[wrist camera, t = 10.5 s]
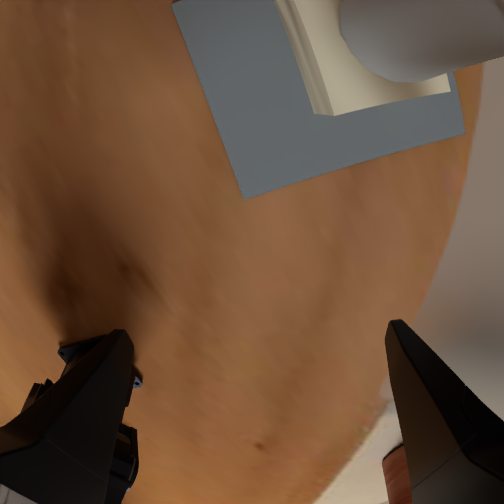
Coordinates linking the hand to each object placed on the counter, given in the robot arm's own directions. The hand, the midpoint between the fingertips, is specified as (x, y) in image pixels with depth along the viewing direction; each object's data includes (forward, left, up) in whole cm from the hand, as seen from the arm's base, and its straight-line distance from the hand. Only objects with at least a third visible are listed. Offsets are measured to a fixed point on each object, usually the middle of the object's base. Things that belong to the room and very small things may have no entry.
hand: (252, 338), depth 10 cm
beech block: (+11, +9, -12) cm, 18 cm away
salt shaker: (+11, +9, -8) cm, 16 cm away
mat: (+10, +8, -13) cm, 18 cm away
